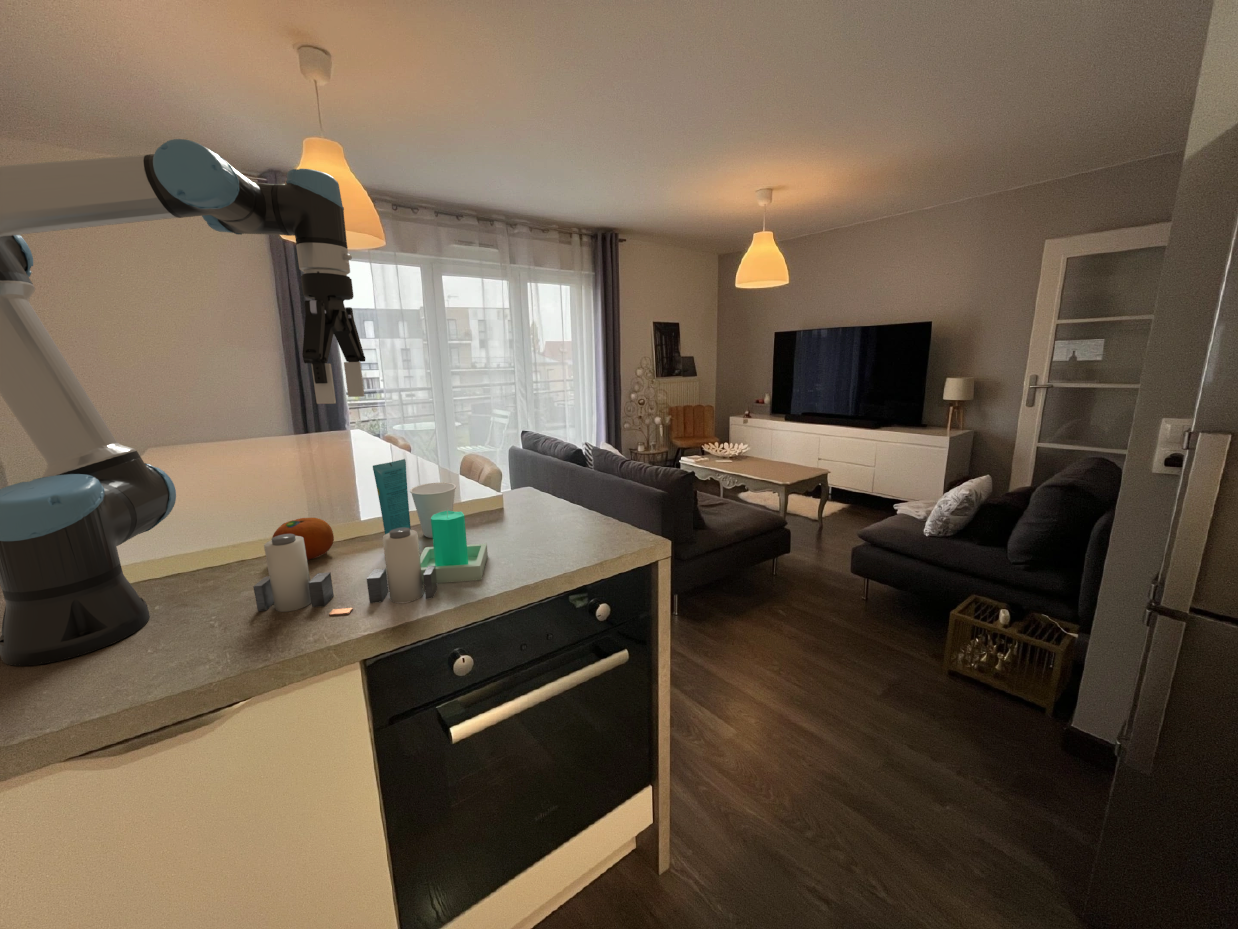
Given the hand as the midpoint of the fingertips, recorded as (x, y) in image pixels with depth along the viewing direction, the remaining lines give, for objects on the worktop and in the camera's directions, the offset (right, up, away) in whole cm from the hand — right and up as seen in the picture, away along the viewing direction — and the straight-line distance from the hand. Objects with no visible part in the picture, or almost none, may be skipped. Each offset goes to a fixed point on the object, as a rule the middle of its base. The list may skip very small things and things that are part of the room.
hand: (342, 400), depth 89 cm
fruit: (-15, -31, +13) cm, 37 cm away
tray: (+17, -32, +7) cm, 37 cm away
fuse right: (+13, -34, -3) cm, 37 cm away
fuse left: (-5, -35, -6) cm, 36 cm away
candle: (+17, -31, +7) cm, 37 cm away
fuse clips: (+4, -35, -6) cm, 36 cm away
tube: (+3, -30, +16) cm, 34 cm away
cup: (+8, -28, +26) cm, 39 cm away
